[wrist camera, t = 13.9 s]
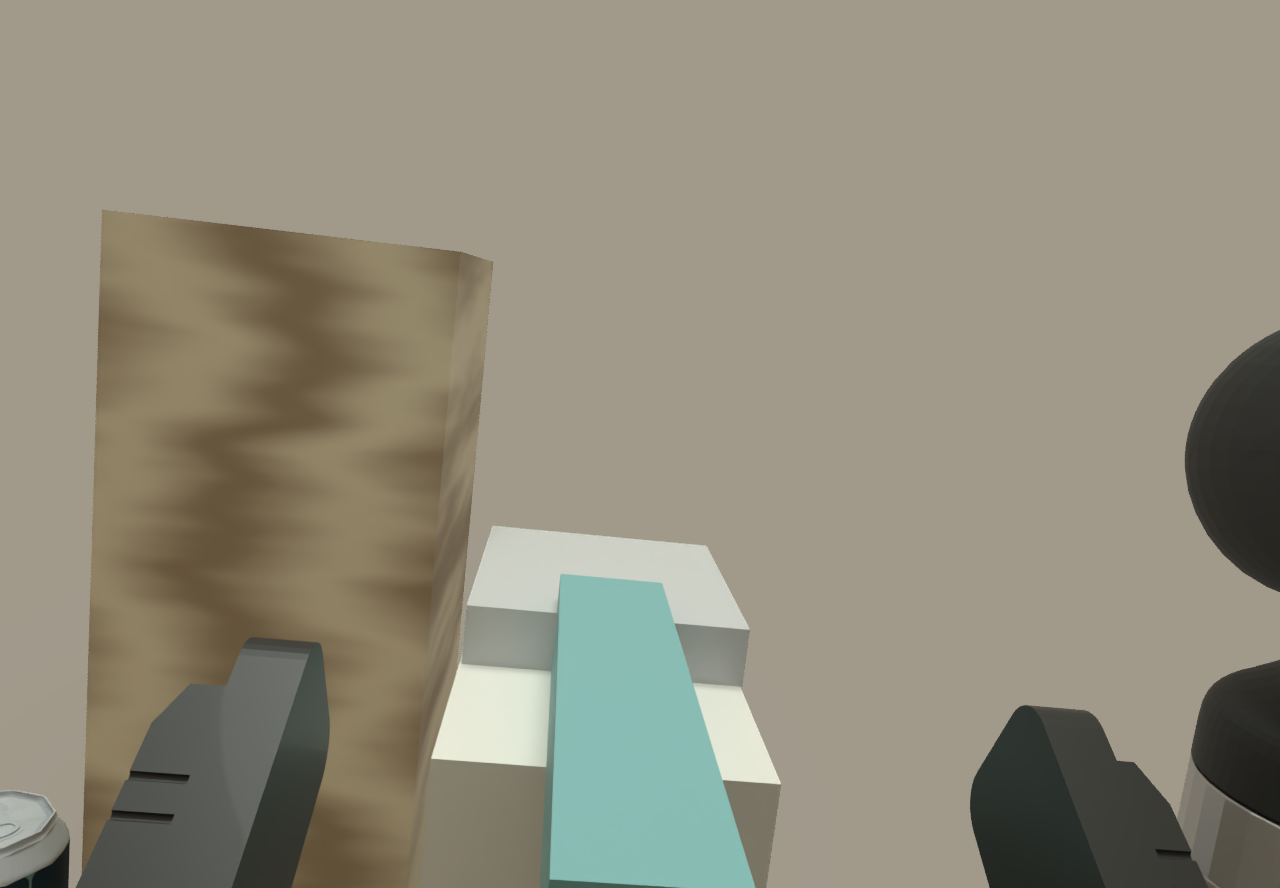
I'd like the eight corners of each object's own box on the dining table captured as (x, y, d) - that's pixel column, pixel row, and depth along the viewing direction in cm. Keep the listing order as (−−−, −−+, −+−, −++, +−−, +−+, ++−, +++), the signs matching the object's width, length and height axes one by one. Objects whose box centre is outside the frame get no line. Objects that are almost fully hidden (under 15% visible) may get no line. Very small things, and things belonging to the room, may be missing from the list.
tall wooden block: (429, 965, 45) (493, 262, 40) (379, 1207, 33) (460, 251, 28) (205, 953, 44) (243, 232, 39) (71, 1197, 32) (102, 209, 28)
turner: (700, 589, 32) (708, 525, 32) (900, 1056, 13) (926, 903, 12) (488, 570, 32) (494, 504, 32) (354, 1029, 12) (368, 867, 12)
